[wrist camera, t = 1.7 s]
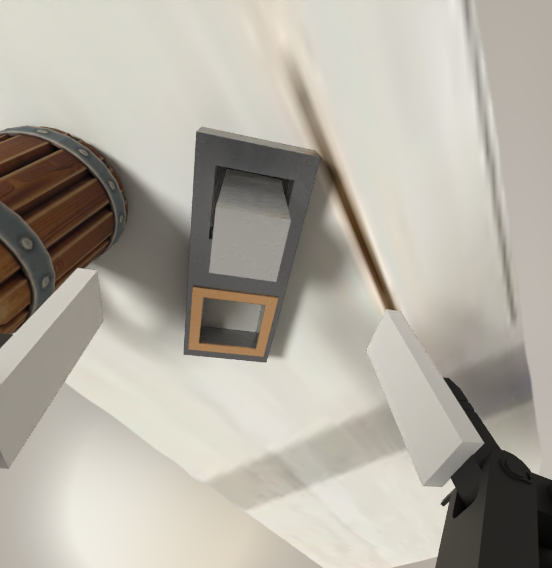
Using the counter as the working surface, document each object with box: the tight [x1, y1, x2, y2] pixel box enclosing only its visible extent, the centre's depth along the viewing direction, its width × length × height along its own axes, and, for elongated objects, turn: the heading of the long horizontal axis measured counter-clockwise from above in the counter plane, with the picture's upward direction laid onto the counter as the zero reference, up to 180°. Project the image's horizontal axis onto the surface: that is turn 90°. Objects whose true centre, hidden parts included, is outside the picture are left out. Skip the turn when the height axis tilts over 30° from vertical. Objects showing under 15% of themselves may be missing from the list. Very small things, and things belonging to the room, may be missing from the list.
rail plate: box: [184, 127, 320, 362], centre depth 29 cm, size 22×9×3 cm, turn 169°
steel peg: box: [209, 169, 291, 282], centre depth 23 cm, size 4×4×9 cm
